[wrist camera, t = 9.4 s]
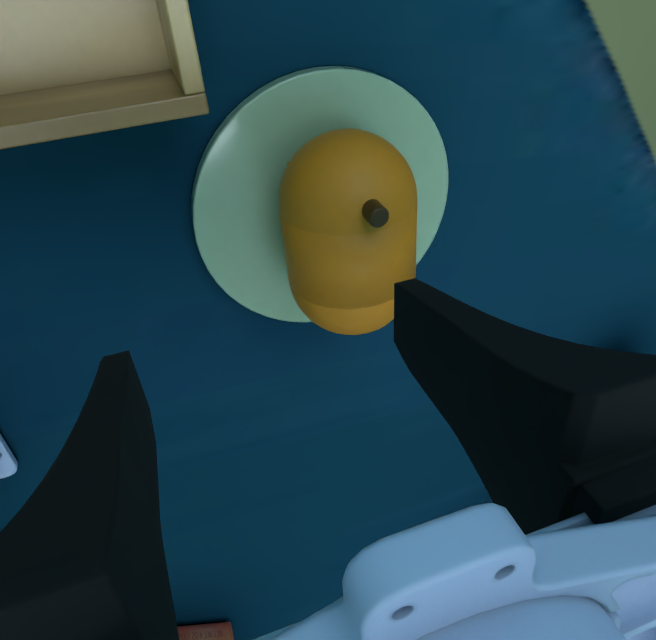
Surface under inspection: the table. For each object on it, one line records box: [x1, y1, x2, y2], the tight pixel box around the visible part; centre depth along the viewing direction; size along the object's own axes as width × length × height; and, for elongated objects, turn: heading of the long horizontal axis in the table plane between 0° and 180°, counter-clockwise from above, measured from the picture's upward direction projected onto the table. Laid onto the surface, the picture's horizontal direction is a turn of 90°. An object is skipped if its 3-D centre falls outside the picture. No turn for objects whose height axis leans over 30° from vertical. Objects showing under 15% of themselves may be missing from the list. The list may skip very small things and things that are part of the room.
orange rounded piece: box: [279, 129, 418, 335], centre depth 21 cm, size 8×5×6 cm, turn 4°
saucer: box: [191, 66, 448, 322], centre depth 24 cm, size 11×11×1 cm
